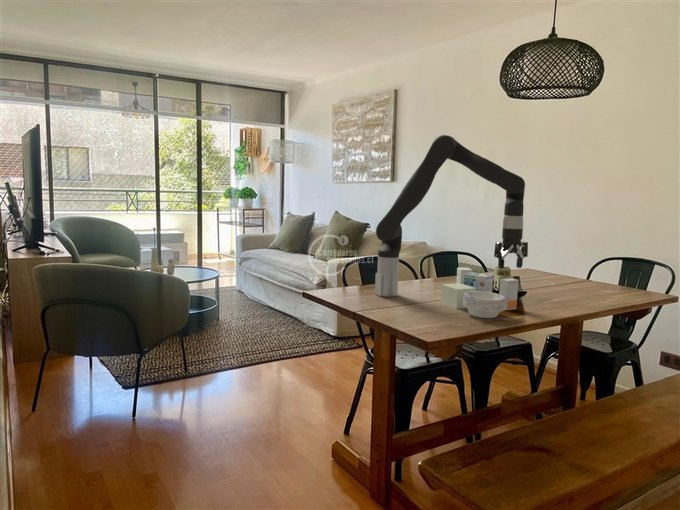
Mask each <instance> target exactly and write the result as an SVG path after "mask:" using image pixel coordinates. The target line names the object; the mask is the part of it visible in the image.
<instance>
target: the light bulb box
mask: <svg viewBox="0 0 680 510" xmlns="http://www.w3.org/2000/svg"><path fill="white" fill-rule="evenodd" d="M493 280H494V275H493V274H487V273H480V272H474V271H473V272H470V273H466V274H464V285H467V286H470V287H474V288H476V291H482V292H491V293H493V283H494V281H493Z"/></svg>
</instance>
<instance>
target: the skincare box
mask: <svg viewBox="0 0 680 510" xmlns="http://www.w3.org/2000/svg"><path fill="white" fill-rule="evenodd" d="M518 291H519V279H516V278H512V277H511V278H501V279H500V280H499V292H498V294H500V295H502V296H504V297H505V298H506V301H505V310H504V311H510V310H517V304H518V302H517V301H518Z"/></svg>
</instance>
